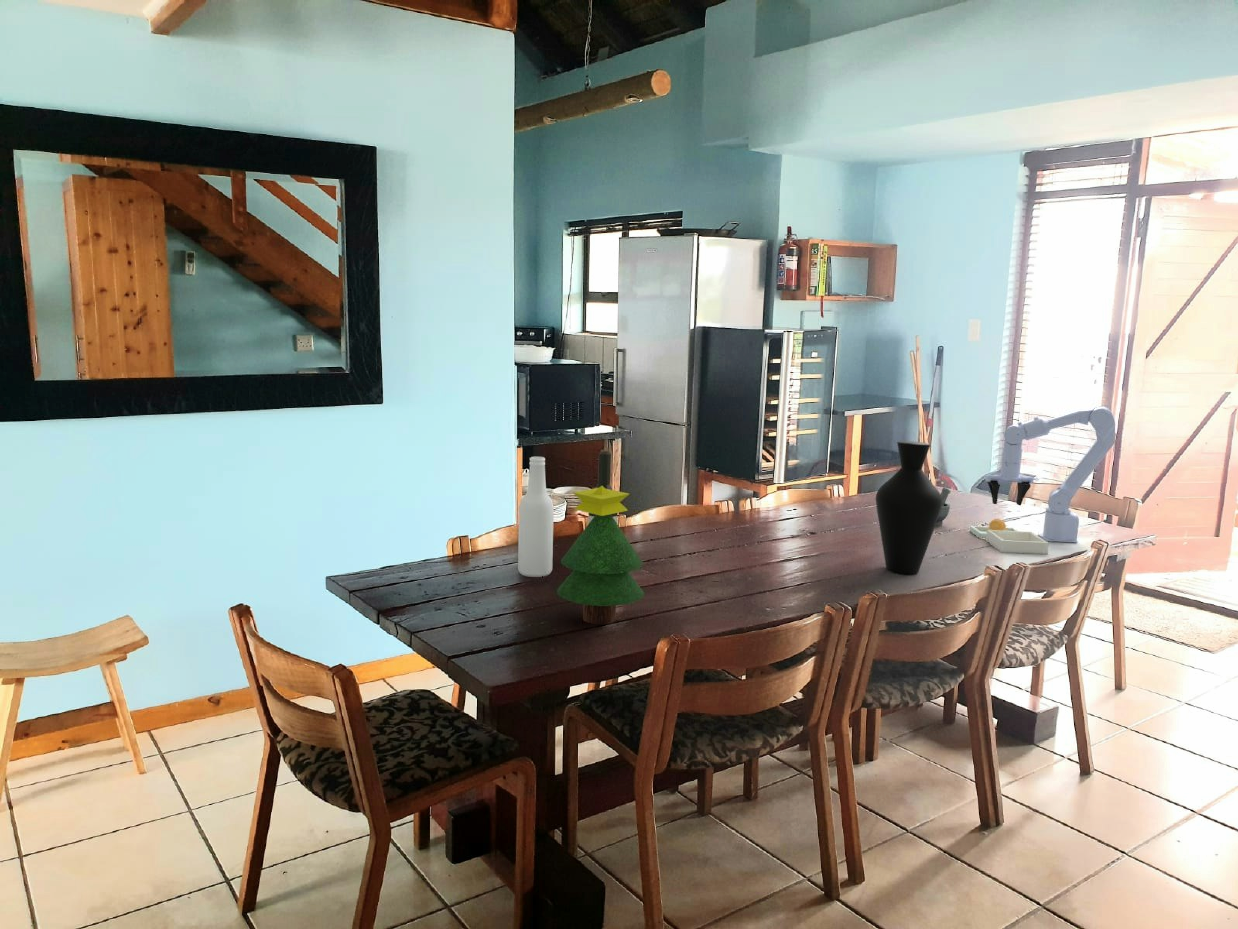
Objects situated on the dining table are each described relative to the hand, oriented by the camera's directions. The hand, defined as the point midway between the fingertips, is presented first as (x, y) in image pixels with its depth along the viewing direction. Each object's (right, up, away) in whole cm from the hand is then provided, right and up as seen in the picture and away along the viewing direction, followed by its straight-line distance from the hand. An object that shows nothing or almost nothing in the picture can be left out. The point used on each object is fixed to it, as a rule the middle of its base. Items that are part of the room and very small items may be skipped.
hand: (1006, 504), depth 305 cm
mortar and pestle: (-20, -7, +10) cm, 24 cm away
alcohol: (-147, -15, -62) cm, 160 cm away
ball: (-5, -7, -4) cm, 9 cm away
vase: (-48, -16, -48) cm, 69 cm away
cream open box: (-4, -12, -17) cm, 22 cm away
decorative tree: (-129, -22, -95) cm, 162 cm away
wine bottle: (-130, -13, -47) cm, 139 cm away
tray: (-5, -10, -4) cm, 12 cm away
